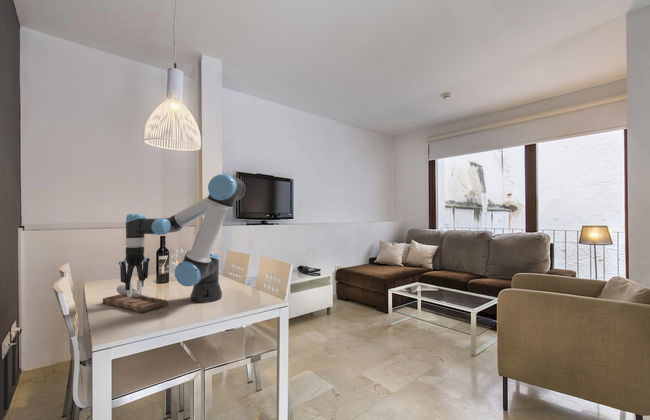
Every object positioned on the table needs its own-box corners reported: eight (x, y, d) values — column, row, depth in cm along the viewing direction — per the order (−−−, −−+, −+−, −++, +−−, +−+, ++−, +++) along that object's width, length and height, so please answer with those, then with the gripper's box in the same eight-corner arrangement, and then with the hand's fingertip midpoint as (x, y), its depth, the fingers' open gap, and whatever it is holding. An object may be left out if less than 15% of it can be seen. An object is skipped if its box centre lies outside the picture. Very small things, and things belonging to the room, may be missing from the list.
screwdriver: (147, 304, 135) (145, 296, 134) (114, 294, 146) (113, 286, 145) (156, 299, 139) (155, 291, 138) (124, 289, 150) (123, 282, 149)
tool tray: (167, 305, 141) (167, 300, 141) (142, 313, 130) (142, 307, 130) (128, 297, 154) (128, 292, 154) (102, 303, 143) (102, 298, 143)
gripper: (147, 244, 151) (146, 290, 151) (111, 247, 136) (110, 299, 136) (157, 245, 148) (156, 292, 148) (121, 249, 132) (120, 301, 133)
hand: (134, 295), depth 142 cm, fingers closed on screwdriver, 4 cm apart
